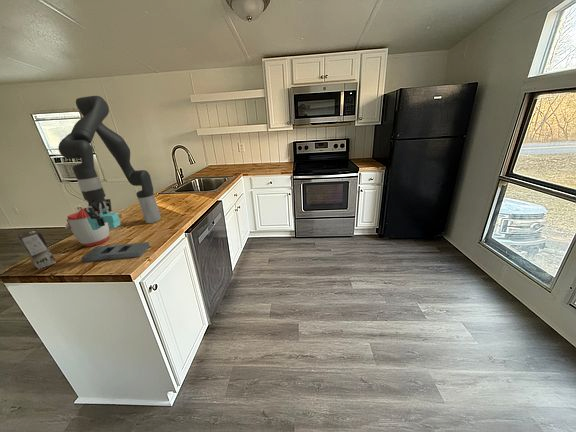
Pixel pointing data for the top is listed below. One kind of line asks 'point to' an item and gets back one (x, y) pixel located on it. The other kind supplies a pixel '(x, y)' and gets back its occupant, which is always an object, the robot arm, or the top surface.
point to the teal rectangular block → (105, 221)
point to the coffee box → (36, 248)
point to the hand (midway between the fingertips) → (105, 223)
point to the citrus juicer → (86, 229)
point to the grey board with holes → (116, 252)
